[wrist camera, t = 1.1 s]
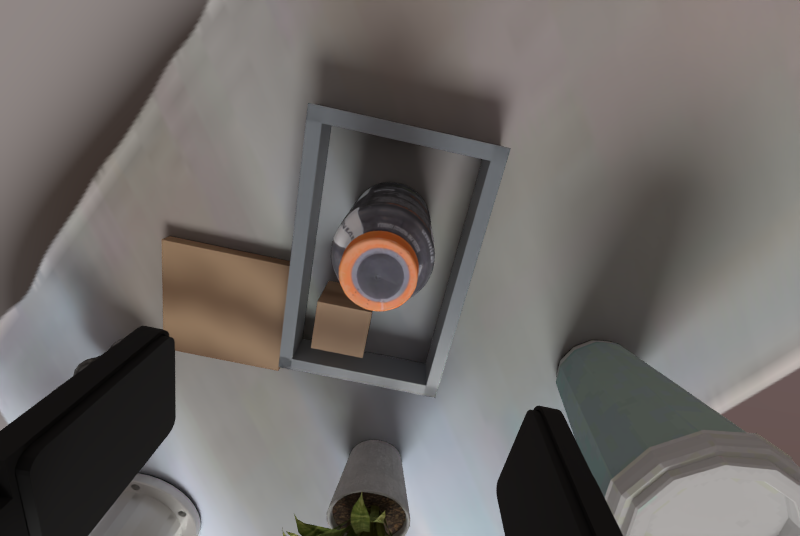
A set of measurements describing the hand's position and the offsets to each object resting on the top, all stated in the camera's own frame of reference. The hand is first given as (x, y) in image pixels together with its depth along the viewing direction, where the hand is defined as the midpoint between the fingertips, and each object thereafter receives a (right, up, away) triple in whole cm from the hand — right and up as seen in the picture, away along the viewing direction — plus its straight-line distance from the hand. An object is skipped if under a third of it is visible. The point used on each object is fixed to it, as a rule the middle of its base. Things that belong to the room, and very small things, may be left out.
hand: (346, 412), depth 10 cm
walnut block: (-3, +1, +22) cm, 22 cm away
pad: (-13, +1, +22) cm, 26 cm away
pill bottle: (+1, +7, +20) cm, 21 cm away
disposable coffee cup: (+18, -5, +23) cm, 30 cm away
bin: (0, +5, +20) cm, 21 cm away
